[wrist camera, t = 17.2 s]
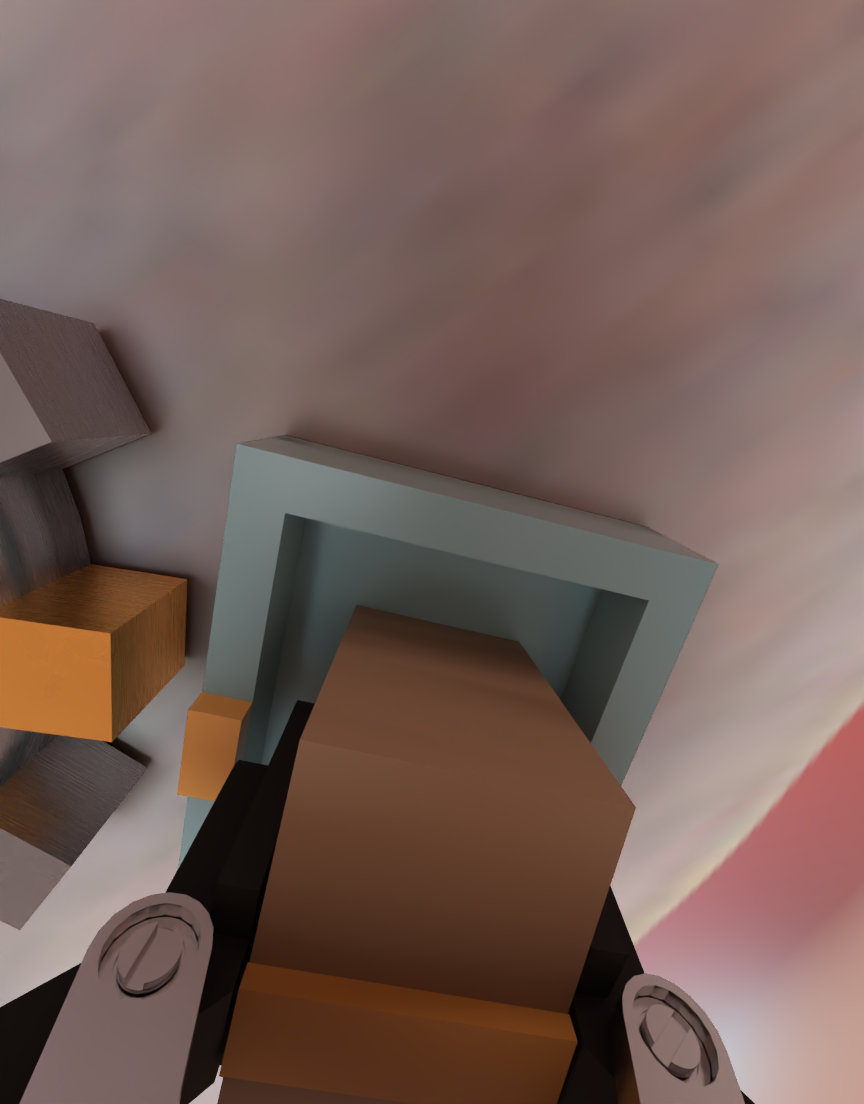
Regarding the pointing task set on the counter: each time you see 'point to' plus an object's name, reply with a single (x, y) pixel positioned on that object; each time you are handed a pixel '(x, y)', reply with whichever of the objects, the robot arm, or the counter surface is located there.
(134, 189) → the counter surface
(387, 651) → the link block
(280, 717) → the green rectangular tray
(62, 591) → the sprocket
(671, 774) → the counter surface
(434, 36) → the counter surface
